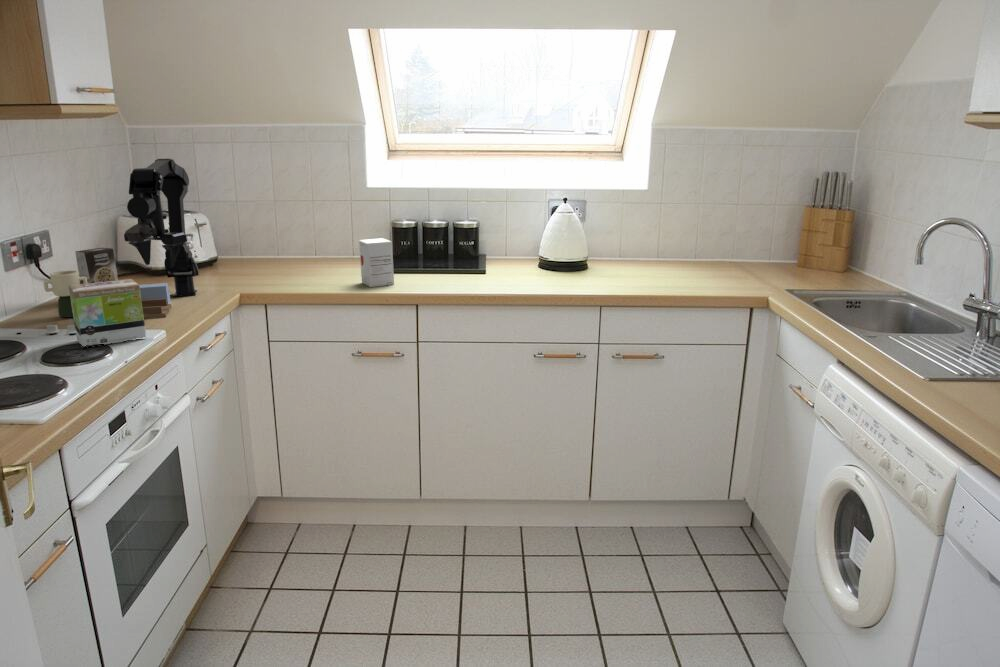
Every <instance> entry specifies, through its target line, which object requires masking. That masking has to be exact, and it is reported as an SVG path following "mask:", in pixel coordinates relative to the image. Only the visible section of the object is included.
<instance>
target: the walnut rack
mask: <svg viewBox="0 0 1000 667" xmlns="http://www.w3.org/2000/svg"><path fill="white" fill-rule="evenodd" d="M141 301H142V309H143V315H144V320H145V319H158V318H166V317H167V316H168V314H169V312H170V311H171V309H172V304H170V303H169V305H167V299H152V300H141Z"/></svg>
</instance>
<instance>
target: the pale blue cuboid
mask: <svg viewBox="0 0 1000 667" xmlns="http://www.w3.org/2000/svg"><path fill="white" fill-rule="evenodd" d="M138 285H139V286H140V293H141V300H152V299H167V305H169V304H170V302H171V301H172V300H171V296H170V295H171V294H170V288H169V282H160V283H159V282H158V283H146V284H138Z"/></svg>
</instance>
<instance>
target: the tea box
mask: <svg viewBox="0 0 1000 667" xmlns="http://www.w3.org/2000/svg"><path fill="white" fill-rule="evenodd" d="M139 285H140V284H138V283H137V282H136V281H135V280H133V279H132V278H127V279H118V280H117V281H107V282H98V283H89V284H79V285H70V286H69V292H70V299H71V305H72V312H73V316H72V318H73V323H74V324H73V325H74V329H75V336H76V340H77V341H78V343H79V345H80V344H81V345H82V346H86V345H93V344H104V345H109V344H110V345H111V343H112V344H117V343H118V344H119V343H124V342H123V341H127V340H133V339H136V338H143V337H146V338H147V331H146V323H145V319H144V315H143V309H142V301H141V293H140V286H139ZM127 342H128V341H127ZM81 345H80V346H81ZM82 346H81V347H82Z"/></svg>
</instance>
